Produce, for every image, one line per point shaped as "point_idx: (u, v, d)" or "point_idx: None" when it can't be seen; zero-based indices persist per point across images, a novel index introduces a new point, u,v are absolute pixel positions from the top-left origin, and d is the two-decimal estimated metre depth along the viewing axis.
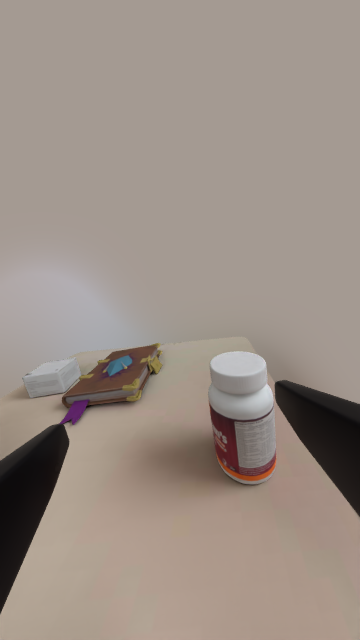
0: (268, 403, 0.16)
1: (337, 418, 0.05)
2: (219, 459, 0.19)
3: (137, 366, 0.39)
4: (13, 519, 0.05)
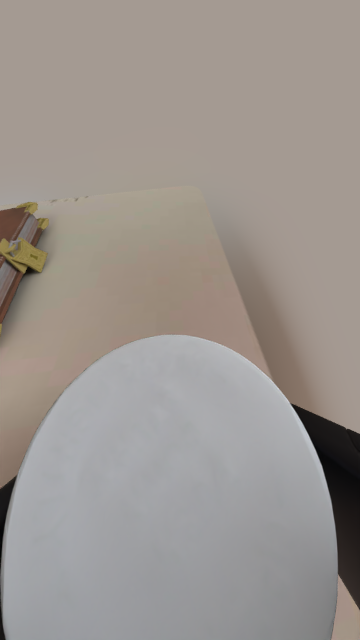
0: None
1: None
2: None
3: None
4: None
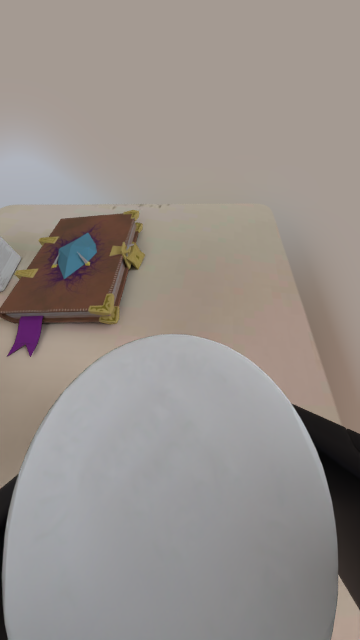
0: None
1: None
2: None
3: (107, 262, 0.24)
4: None
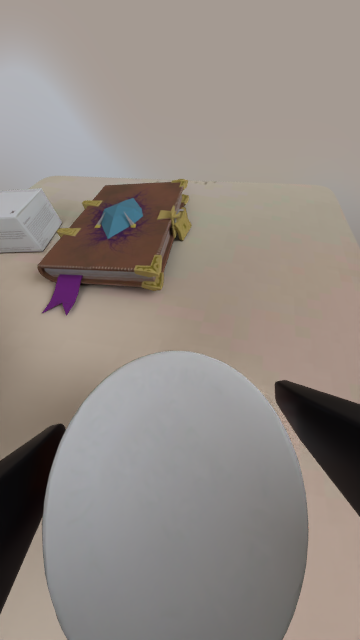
0: None
1: (337, 418, 0.05)
2: None
3: (154, 225, 0.22)
4: (13, 519, 0.05)
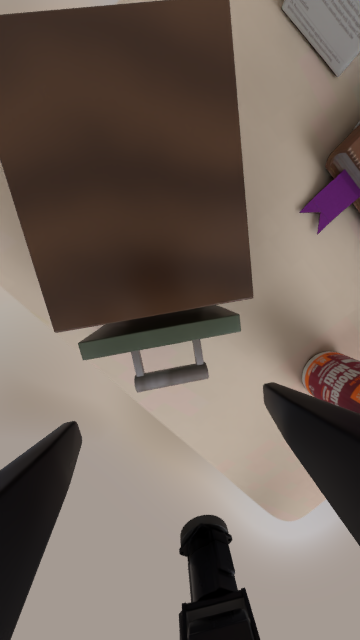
0: None
1: (319, 422, 0.05)
2: (308, 378, 0.22)
3: None
4: (33, 515, 0.05)
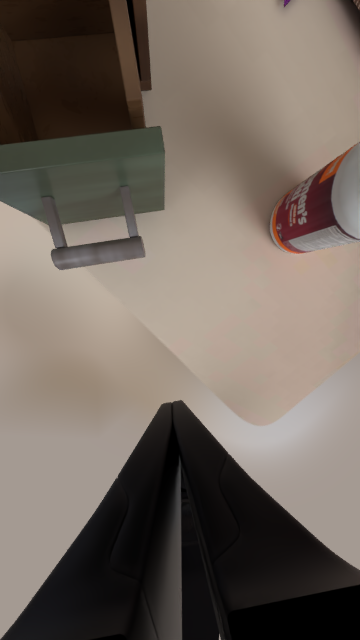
0: None
1: (180, 451, 0.05)
2: (275, 218, 0.18)
3: None
4: (174, 484, 0.05)
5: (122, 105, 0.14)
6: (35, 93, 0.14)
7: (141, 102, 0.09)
